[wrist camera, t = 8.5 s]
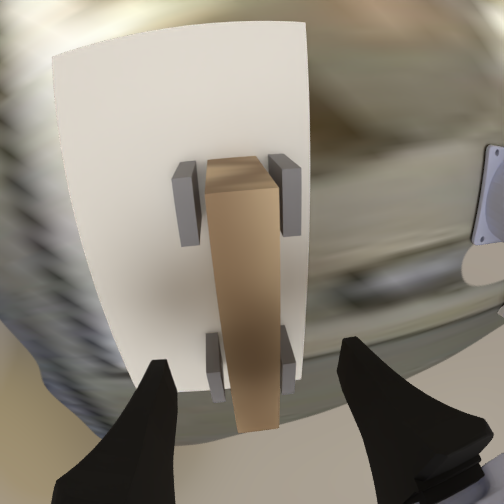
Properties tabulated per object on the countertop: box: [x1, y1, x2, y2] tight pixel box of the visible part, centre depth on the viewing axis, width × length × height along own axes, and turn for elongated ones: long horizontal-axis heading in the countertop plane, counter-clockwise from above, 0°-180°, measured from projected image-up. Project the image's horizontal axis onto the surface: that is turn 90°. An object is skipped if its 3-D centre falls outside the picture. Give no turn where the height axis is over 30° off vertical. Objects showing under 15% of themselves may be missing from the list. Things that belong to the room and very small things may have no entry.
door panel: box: [205, 156, 281, 433], centre depth 16 cm, size 2×14×6 cm, turn 3°
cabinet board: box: [52, 21, 310, 403], centre depth 16 cm, size 13×24×4 cm, turn 3°
